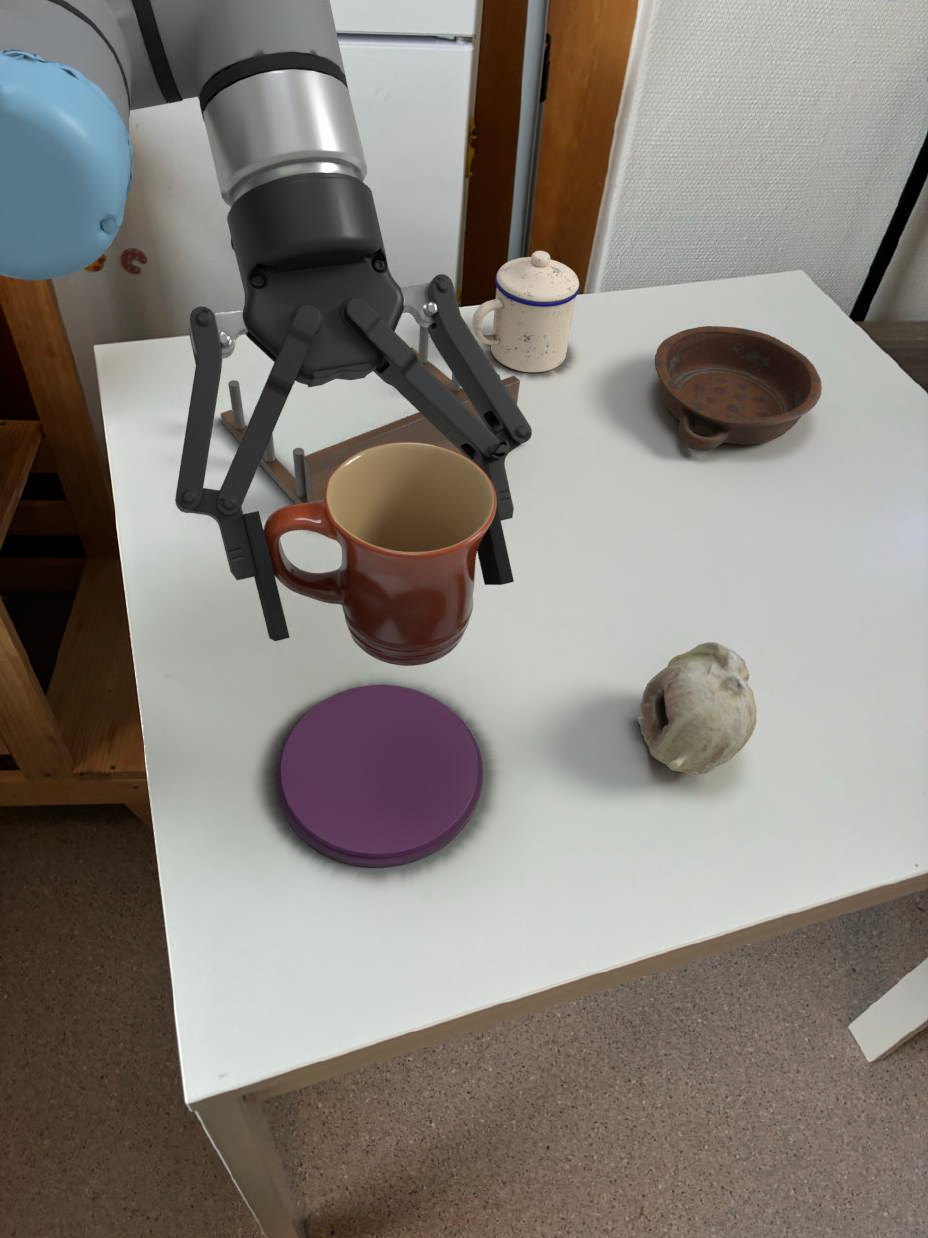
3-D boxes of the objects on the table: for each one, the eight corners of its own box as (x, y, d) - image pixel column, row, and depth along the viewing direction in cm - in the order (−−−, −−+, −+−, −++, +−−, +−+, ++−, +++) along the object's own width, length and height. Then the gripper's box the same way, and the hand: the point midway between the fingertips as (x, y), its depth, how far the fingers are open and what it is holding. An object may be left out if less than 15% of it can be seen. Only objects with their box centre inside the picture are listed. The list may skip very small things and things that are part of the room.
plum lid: (238, 749, 65) (236, 740, 65) (406, 660, 72) (406, 651, 71) (347, 909, 58) (347, 902, 57) (523, 794, 65) (525, 785, 64)
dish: (608, 427, 94) (617, 386, 91) (690, 338, 107) (701, 299, 103) (766, 493, 89) (783, 453, 85) (833, 390, 102) (850, 351, 98)
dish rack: (221, 422, 91) (211, 360, 85) (411, 356, 101) (413, 296, 95) (315, 525, 82) (310, 463, 76) (513, 441, 92) (521, 380, 86)
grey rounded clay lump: (668, 713, 73) (706, 607, 68) (758, 771, 68) (806, 661, 64) (597, 750, 67) (633, 636, 62) (691, 817, 62) (738, 699, 57)
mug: (467, 568, 57) (481, 437, 49) (492, 678, 51) (511, 549, 44) (274, 582, 55) (257, 447, 47) (278, 697, 49) (258, 565, 42)
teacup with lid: (542, 324, 107) (556, 228, 98) (582, 365, 102) (601, 267, 93) (452, 344, 103) (458, 245, 94) (489, 387, 98) (499, 287, 89)
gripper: (488, 202, 53) (563, 561, 55) (57, 250, 46) (164, 660, 48) (538, 143, 46) (622, 558, 48) (37, 189, 39) (164, 673, 41)
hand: (393, 610), depth 48 cm, fingers closed on mug, 12 cm apart
